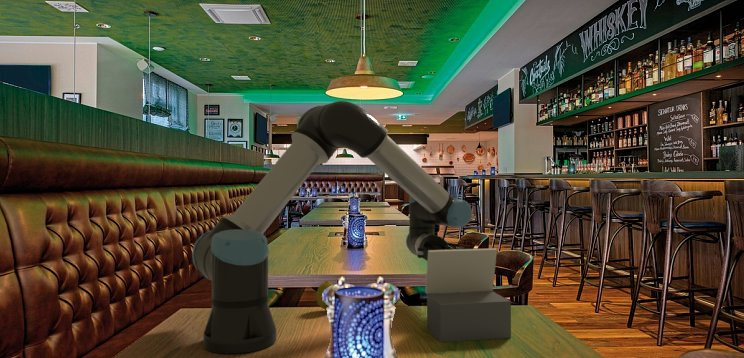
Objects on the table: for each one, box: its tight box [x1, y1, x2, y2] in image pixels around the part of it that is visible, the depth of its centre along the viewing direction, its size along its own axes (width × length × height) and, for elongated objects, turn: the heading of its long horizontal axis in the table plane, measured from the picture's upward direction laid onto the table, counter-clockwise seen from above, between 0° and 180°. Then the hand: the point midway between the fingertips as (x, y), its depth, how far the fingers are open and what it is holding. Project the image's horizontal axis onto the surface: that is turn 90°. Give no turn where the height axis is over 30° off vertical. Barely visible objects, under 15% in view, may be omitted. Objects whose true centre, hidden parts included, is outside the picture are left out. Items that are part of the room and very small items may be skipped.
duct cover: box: [424, 247, 498, 295], centre depth 117 cm, size 16×10×1 cm
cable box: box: [426, 290, 512, 343], centre depth 113 cm, size 16×10×8 cm, turn 100°
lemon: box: [316, 280, 335, 311], centre depth 132 cm, size 6×6×8 cm
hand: (462, 262), depth 118 cm, fingers closed
